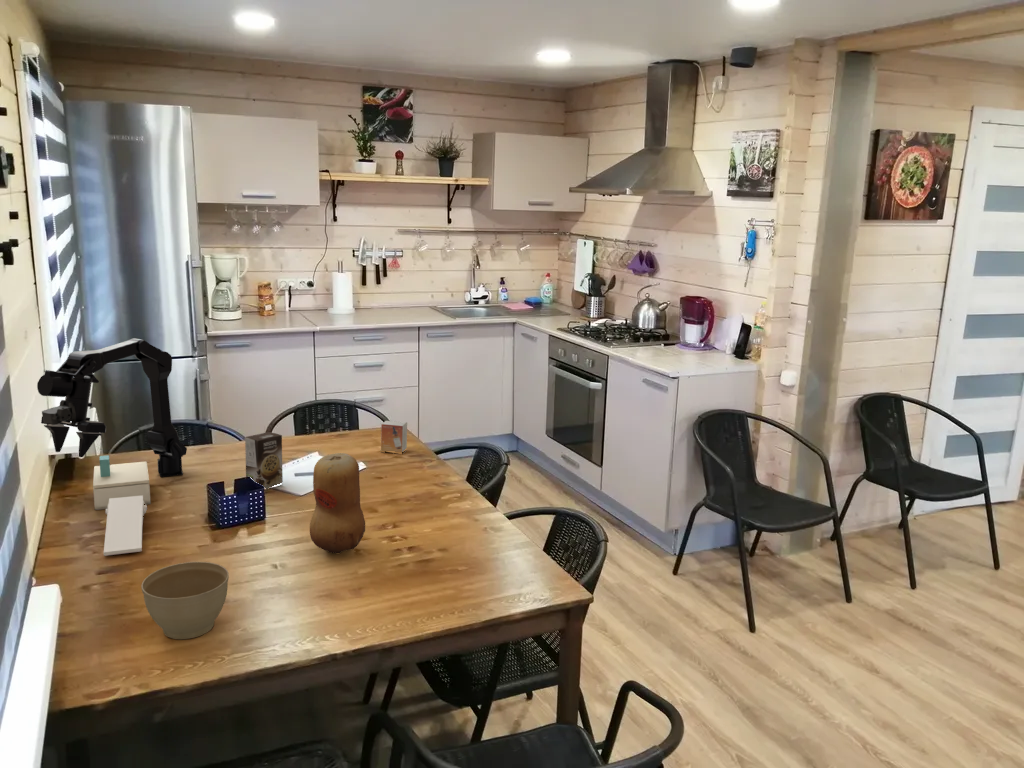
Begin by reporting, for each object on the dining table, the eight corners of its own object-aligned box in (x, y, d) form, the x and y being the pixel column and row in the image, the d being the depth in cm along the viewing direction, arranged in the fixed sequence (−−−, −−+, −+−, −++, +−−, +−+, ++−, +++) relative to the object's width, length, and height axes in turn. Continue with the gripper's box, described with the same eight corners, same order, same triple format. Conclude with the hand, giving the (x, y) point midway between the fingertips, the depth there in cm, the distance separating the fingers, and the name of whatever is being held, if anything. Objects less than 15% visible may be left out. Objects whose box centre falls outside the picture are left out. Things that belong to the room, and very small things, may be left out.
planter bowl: (181, 603, 172) (179, 556, 170) (246, 616, 167) (245, 568, 165) (126, 640, 157) (122, 589, 154) (196, 656, 152) (193, 603, 150)
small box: (380, 452, 282) (380, 423, 280) (385, 448, 288) (385, 420, 286) (402, 454, 281) (402, 425, 279) (407, 450, 287) (407, 421, 284)
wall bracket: (142, 574, 197) (143, 519, 221) (148, 548, 195) (149, 496, 219) (97, 571, 192) (103, 515, 216) (103, 544, 191) (109, 491, 215)
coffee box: (258, 492, 239) (257, 440, 235) (245, 487, 243) (243, 436, 239) (283, 485, 246) (282, 434, 243) (270, 480, 250) (269, 430, 246)
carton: (147, 483, 243) (146, 464, 241) (150, 503, 227) (149, 483, 226) (95, 489, 236) (94, 469, 235) (94, 510, 221) (93, 489, 219)
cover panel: (146, 463, 241) (145, 445, 240) (149, 482, 226) (148, 463, 224) (94, 468, 235) (93, 449, 234) (93, 488, 219) (91, 468, 218)
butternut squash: (298, 555, 197) (296, 458, 192) (329, 536, 210) (329, 444, 204) (346, 566, 192) (346, 467, 187) (375, 546, 205) (376, 452, 199)
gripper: (26, 392, 215) (18, 449, 215) (74, 400, 208) (65, 460, 207) (64, 394, 225) (56, 449, 225) (111, 402, 218) (103, 459, 218)
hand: (69, 454), depth 218 cm, fingers open, 9 cm apart
